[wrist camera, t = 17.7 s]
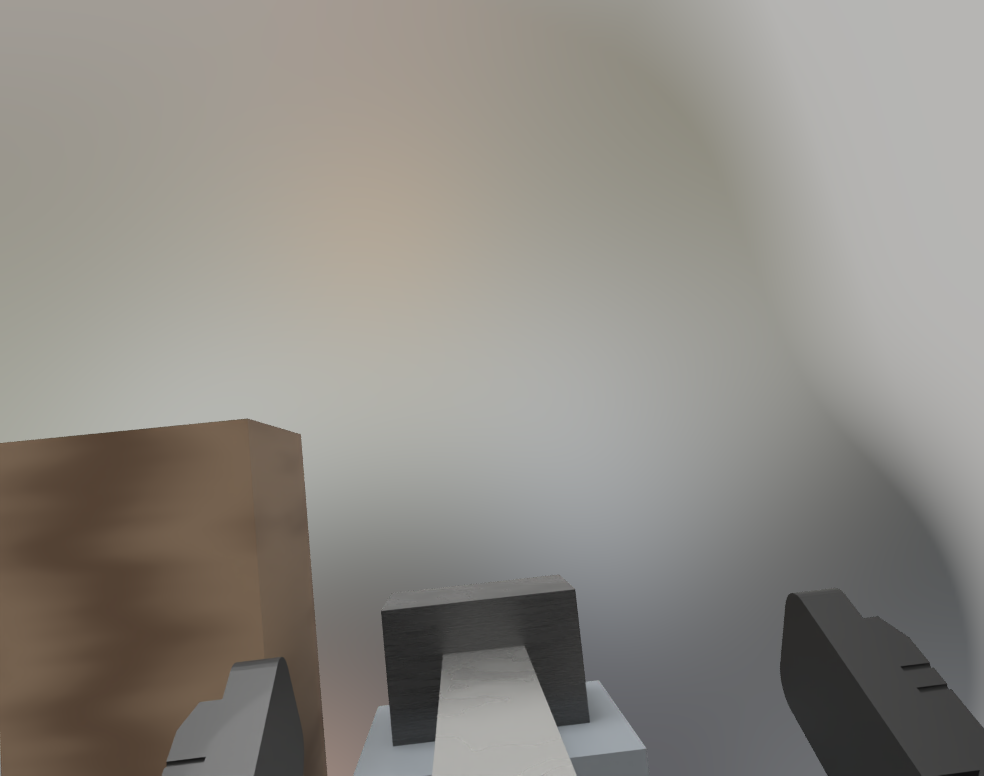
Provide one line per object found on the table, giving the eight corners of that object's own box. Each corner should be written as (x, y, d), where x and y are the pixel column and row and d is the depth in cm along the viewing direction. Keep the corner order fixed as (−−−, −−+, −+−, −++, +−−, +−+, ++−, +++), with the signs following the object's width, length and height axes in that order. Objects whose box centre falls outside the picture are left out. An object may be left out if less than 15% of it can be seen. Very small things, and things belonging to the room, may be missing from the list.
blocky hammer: (330, 997, 13) (310, 729, 13) (402, 709, 28) (391, 593, 29) (711, 945, 13) (679, 685, 13) (572, 689, 29) (559, 574, 29)
